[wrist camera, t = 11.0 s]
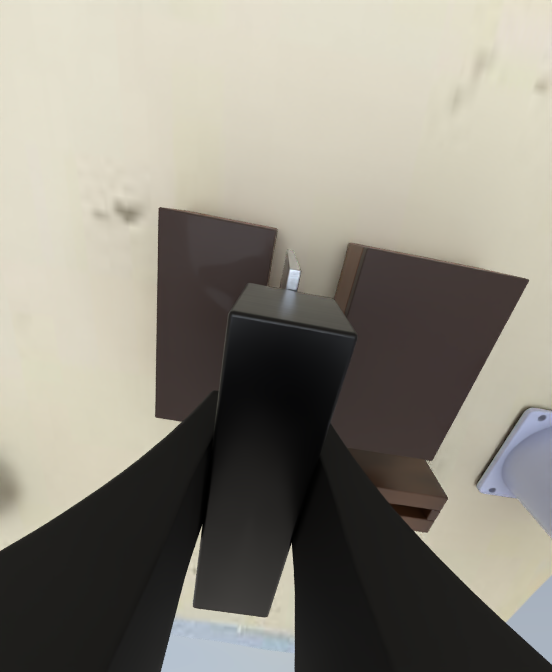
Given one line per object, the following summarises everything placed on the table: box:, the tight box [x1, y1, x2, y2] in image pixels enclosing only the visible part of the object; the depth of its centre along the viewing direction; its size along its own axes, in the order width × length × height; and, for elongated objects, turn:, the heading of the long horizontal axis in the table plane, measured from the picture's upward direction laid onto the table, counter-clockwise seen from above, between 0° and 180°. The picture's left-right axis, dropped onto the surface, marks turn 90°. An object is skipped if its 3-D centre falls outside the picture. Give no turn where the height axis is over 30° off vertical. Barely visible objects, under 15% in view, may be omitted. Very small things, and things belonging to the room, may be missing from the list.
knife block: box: [348, 448, 448, 533], centre depth 19 cm, size 12×4×4 cm, turn 80°
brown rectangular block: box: [155, 207, 277, 422], centre depth 15 cm, size 5×11×4 cm, turn 170°
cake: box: [330, 243, 529, 461], centre depth 16 cm, size 8×11×4 cm
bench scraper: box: [193, 250, 358, 617], centre depth 10 cm, size 10×2×8 cm, turn 170°
